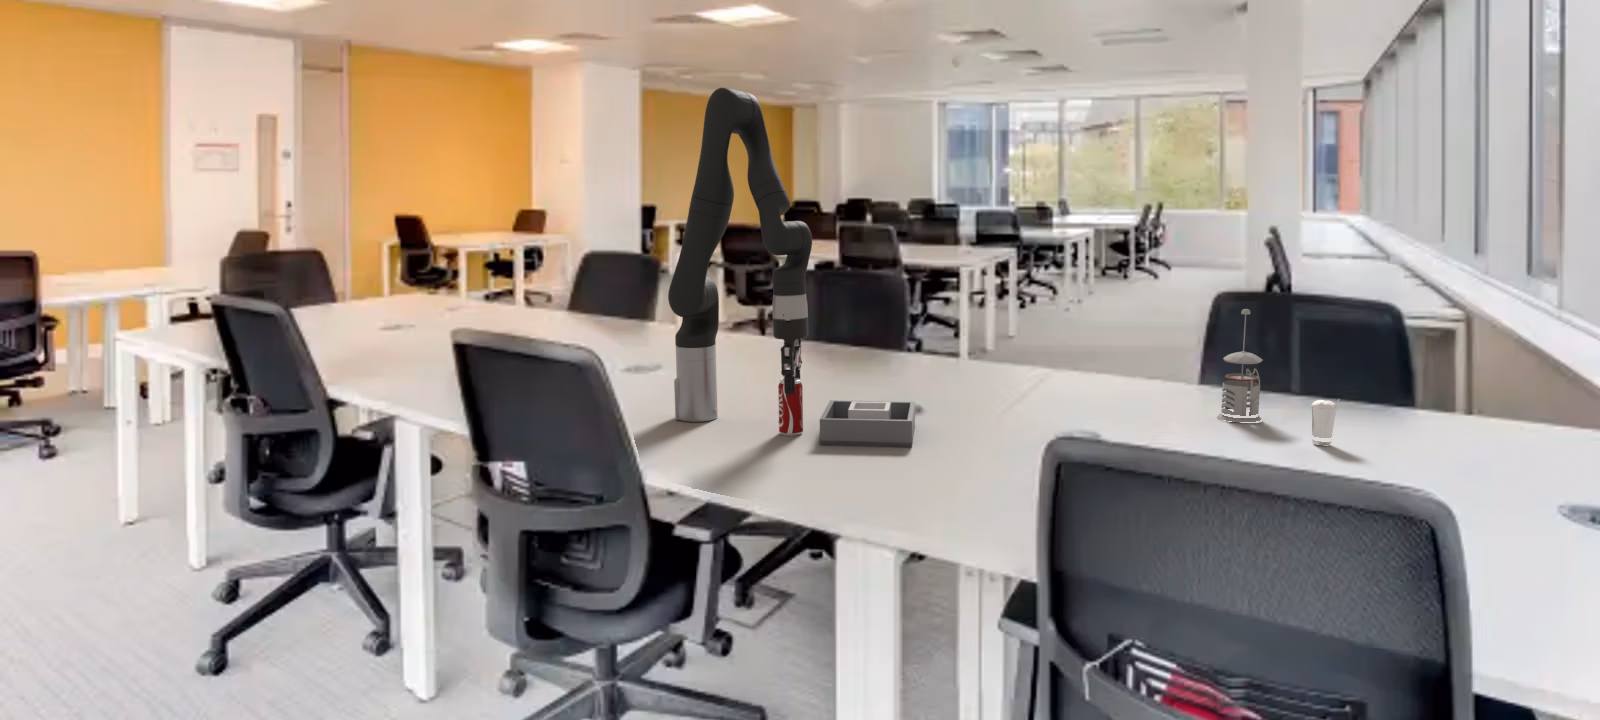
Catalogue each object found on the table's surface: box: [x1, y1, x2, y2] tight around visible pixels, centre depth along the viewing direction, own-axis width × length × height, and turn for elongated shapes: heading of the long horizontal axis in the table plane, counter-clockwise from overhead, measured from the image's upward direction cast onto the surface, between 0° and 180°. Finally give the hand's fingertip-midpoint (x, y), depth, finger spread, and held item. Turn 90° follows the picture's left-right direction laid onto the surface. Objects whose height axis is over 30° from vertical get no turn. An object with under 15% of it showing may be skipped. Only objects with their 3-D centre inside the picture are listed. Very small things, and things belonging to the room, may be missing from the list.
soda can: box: [777, 377, 804, 437], centre depth 223 cm, size 5×5×12 cm
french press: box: [1216, 308, 1263, 422], centre depth 229 cm, size 10×12×25 cm
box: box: [819, 399, 916, 448], centre depth 221 cm, size 19×19×6 cm
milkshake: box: [1311, 398, 1340, 446], centre depth 207 cm, size 4×5×10 cm
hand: (792, 390), depth 222 cm, fingers open, 8 cm apart
